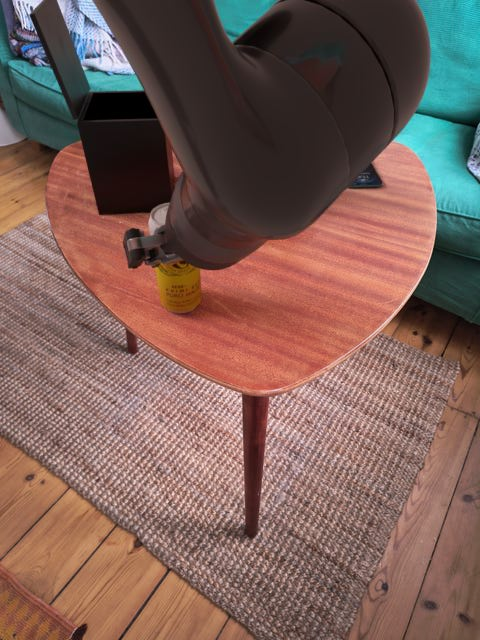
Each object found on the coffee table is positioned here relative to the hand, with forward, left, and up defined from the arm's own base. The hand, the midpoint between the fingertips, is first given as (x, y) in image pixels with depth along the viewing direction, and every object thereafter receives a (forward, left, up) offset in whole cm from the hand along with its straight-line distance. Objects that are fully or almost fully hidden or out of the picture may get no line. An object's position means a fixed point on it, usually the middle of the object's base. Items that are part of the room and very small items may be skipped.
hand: (191, 250), depth 50 cm
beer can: (-2, +10, -17) cm, 20 cm away
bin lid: (-15, +43, +8) cm, 46 cm away
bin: (-8, +42, -17) cm, 46 cm away
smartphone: (+37, +45, -17) cm, 61 cm away
